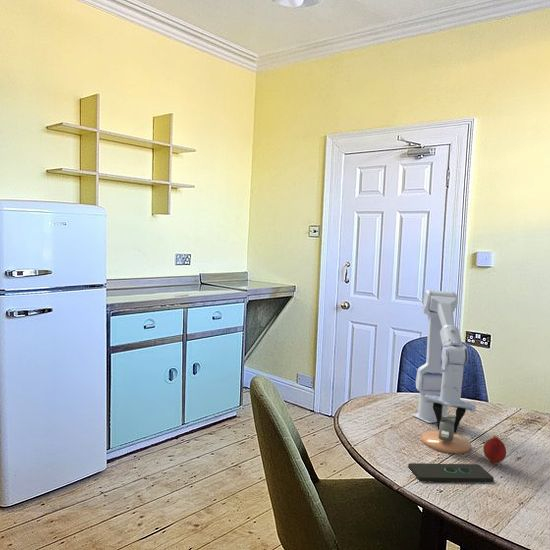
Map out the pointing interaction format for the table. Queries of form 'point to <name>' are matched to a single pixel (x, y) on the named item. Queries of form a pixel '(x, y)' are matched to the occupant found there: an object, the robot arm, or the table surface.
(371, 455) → the table surface
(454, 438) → the plate
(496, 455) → the onion
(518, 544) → the table surface
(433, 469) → the smart home device
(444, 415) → the connector
